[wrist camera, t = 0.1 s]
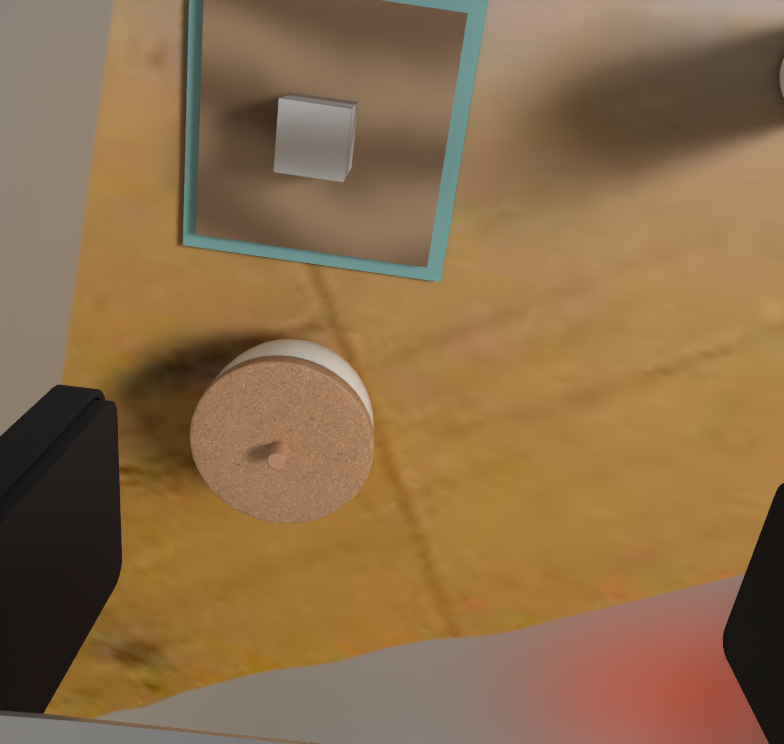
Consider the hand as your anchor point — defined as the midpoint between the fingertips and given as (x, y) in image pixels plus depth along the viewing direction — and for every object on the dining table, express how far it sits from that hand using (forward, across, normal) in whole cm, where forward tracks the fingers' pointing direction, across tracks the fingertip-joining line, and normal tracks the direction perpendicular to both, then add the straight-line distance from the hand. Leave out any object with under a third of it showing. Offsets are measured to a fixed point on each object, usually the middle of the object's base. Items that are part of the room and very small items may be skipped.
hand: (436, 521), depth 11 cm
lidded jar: (+37, +6, +16) cm, 41 cm away
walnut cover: (+36, +6, -1) cm, 37 cm away
